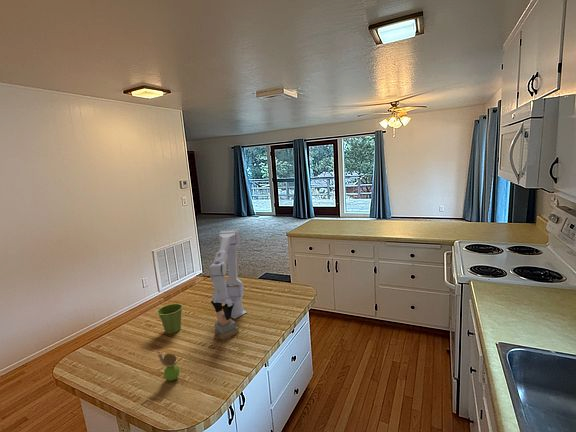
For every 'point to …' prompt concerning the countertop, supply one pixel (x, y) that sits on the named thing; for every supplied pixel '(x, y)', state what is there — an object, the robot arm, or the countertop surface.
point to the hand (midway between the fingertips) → (224, 316)
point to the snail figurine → (169, 366)
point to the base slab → (227, 333)
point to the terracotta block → (222, 318)
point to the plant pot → (171, 317)
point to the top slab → (225, 327)
